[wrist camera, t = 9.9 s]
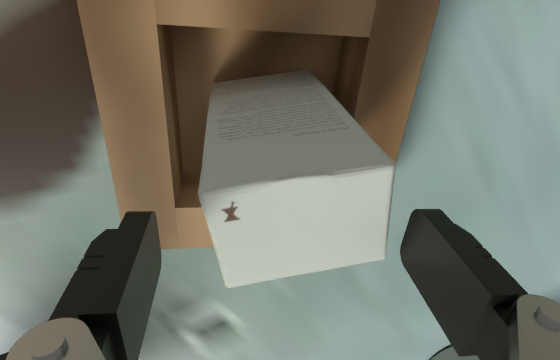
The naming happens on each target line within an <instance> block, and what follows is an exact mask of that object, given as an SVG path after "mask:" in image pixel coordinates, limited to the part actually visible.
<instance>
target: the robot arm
mask: <svg viewBox="0 0 560 360" xmlns="http://www.w3.org/2000/svg"><path fill="white" fill-rule="evenodd" d="M400 255H401V260H402V263H403V265H404V267H405V269H406V270H407V272H408V274H409V275H410V277H411V279H412V280H413V282H414V284H415V285H416V287H417V289H418V290H419V292H420V293H421V295H422V297H423V298H424V300H425V302H426V303H427V305H428V307H429V308H430V310H431V312H432V313H433V315H434V316H435V318H436V320H437V321H438V323H439V325H440V326H441V328H442V330H443V331H444V333H445V335H446V336H447V338H448V340H449V341H450V343H451V344H452V347H450V348H447V349H445V350H444V351H442V352H440V353H438V354H437V355H436V356H435V357H433V358H432V359H431V360H560V304H559V303H557V302H555V301H553V300H551V299H549V298H546V297H543V296H539V295H532V294H528V293H527V292H526V291H525V290H524V289H523V288H522V287H521V286H520V285H519V284H518V283H517V281H516V280H515V279H514V278H513V277H512V276H511V275H510V274H509V273H508V272H507V271H506V270H505V269H504V268H503V267H502V266H501V265H500V264H499V263H498V262H497V261H496V259H495V258H492V255H491V254H490V253H489V252H488V251H487V250H486V249H485V248H483V247H482V245H481V244H480V243H479V242H478V241H477V240H476V239H475V238H474V236H473V235H472V234H470V233H469V232H467V231H466V230H464V229H463V228H461V227H459V226H458V225H456V224H454V223H453V222H452V221H451V220H450V219H449V218H448V217H447V216H446V214H445V213H444V212H443V211H442V210H440V209H415V210H414V211H413V212H412V213H411V216H410V219H409V222H408V225H407V228H406V231H405V234H404V238H403V241H402V244H401V248H400ZM160 269H161V247H160V239H159V232H158V224H157V217H156V213H155V211H127V212H126V213H125V215H124V217H123V219H122V222H121V224H120V226H119V228H118V229H106V230H105V231H104V232H103V233H101V234H100V235H99V236H98V237H97V238H95V239H94V240H93V241H92V242H91V244H90V246H89V248H88V249H87V251H86V253H85V255H84V259H82V260H81V262H80V264H79V266H78V268H77V271H75V273H74V275H73V277H72V279H71V280H70V282H69V284H68V286H67V288H66V290H65V291H64V293H63V295H62V297H61V299H60V300H59V302H58V304H57V306H56V308H55V310H54V311H53V313H52V315H51V317H50V319H49V320H48V321H47V322H45V323H42V324H40V325H38V326H36V327H35V328H33V329H31V330H30V331H28V332H27V333H26V334H24V335H23V336H22V337H21V338H20V339H19V340H18V341H17V342H16V343H15V344H14V345H13V347H12V348H11V349H10V351H9V352H7V353H5V354H2V355H0V360H138V357H139V353H140V349H141V346H142V342H143V338H144V334H145V330H146V326H147V322H148V318H149V314H150V310H151V306H152V302H153V298H154V294H155V290H156V286H157V282H158V278H159V274H160Z"/></svg>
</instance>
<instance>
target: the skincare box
mask: <svg viewBox="0 0 560 360" xmlns="http://www.w3.org/2000/svg"><path fill="white" fill-rule="evenodd" d="M394 175H395V163H394V161H393V160H392V159H391V158H390V157H389V156H388V155H387V154H386V153H385V152H384V151H383V150H382V149H381V148H380V147H379V145H378V144H377V143H376V142H375V141H374V140H373V139H372V138H371V137H370V136H369V135H368V134H367V132H366V131H365V130H364V129H363V128H362V127H361V126H360V125H359V124H358V123H357V122H356V121H355V119H354V118H353V117H352V116H351V115H350V114H349V113H348V112H347V110H346V109H345V108H344V107H343V106H342V105H341V104H340V103H339V102H338V101H337V99H336V98H335V97H334V96H333V95H332V94H331V93H330V92H329V91H328V89H327V88H326V87H325V86H324V85H323V84H322V83H321V82H320V81H319V79H318V78H317V77H316V76H315V75H314V74H313V73H312V72H311V71H310V70H303V71H295V72H288V73H280V74H273V75H265V76H258V77H251V78H244V79H237V80H229V81H222V82H214V83H212V85H211V91H210V100H209V109H208V116H207V124H206V133H205V141H204V150H203V159H202V169H201V175H200V182H199V189H198V197H199V200H200V203H201V206H202V209H203V213H204V216H205V219H206V222H207V226H208V229H209V232H210V236H211V239H212V242H213V246H214V249H215V252H216V256H217V259H218V262H219V266H220V269H221V273H222V276H223V280H224V283H225V285H226V287H227V288H232V287H238V286H243V285H247V284H252V283H257V282H263V281H268V280H273V279H278V278H284V277H290V276H295V275H301V274H306V273H312V272H318V271H323V270H328V269H334V268H339V267H344V266H350V265H356V264H361V263H367V262H372V261H379V260H384V259H385V258H386V247H387V238H388V229H389V221H390V212H391V202H392V193H393V184H394Z"/></svg>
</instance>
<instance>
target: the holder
mask: <svg viewBox="0 0 560 360" xmlns="http://www.w3.org/2000/svg"><path fill="white" fill-rule="evenodd" d="M439 3H440V0H77V4H78V9H79V14H80V19H81V24H82V29H83V34H84V39H85V44H86V49H87V54H88V59H89V63H90V69H91V73H92V79H93V83H94V88H95V94H96V98H97V103H98V108H99V113H100V118H101V123H102V128H103V133H104V138H105V143H106V148H107V153H108V158H109V163H110V168H111V173H112V178H113V183H114V188H115V193H116V198H117V202H118V207H119V212H120V217H121V222H122V219H123V217H124V215H125V213H126V212H127V211H155V213H156V217H157V224H158V232H159V239H160V247H161V249H179V248H211V247H214V246H213V242H212V239H211V236H210V232H209V229H208V226H207V222H206V219H205V216H204V213H203V209H202V206H201V203H200V200H199V197H198V189H199V182H200V175H201V169H202V159H203V150H204V141H205V133H206V124H207V116H208V109H209V100H210V91H211V85H212V83H214V82H222V81H229V80H237V79H244V78H251V77H258V76H265V75H273V74H280V73H288V72H295V71H303V70H310V71H311V72H312V73H313V74H314V75H315V76H316V77H317V78H318V79H319V81H320V82H321V83H322V84H323V85H324V86H325V87H326V88H327V89H328V91H329V92H330V93H331V94H332V95H333V96H334V97H335V98H336V99H337V101H338V102H339V103H340V104H341V105H342V106H343V107H344V108H345V109H346V110H347V112H348V113H349V114H350V115H351V116H352V117H353V118H354V119H355V121H356V122H357V123H358V124H359V125H360V126H361V127H362V128H363V129H364V130H365V131H366V132H367V134H368V135H369V136H370V137H371V138H372V139H373V140H374V141H375V142H376V143H377V144H378V145H379V147H380V148H381V149H382V150H383V151H384V152H385V153H386V154H387V155H388V156H389V157H390V158H391V159H392V160H393V161H394V163H396V160H397V156H398V152H399V149H400V145H401V141H402V138H403V134H404V130H405V127H406V123H407V120H408V116H409V112H410V109H411V105H412V101H413V98H414V94H415V90H416V87H417V83H418V79H419V76H420V72H421V68H422V65H423V61H424V57H425V54H426V50H427V47H428V43H429V39H430V36H431V32H432V28H433V25H434V21H435V17H436V14H437V10H438V6H439Z"/></svg>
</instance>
